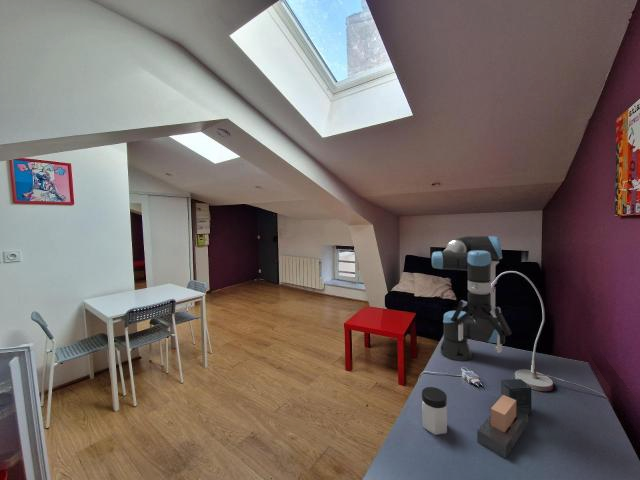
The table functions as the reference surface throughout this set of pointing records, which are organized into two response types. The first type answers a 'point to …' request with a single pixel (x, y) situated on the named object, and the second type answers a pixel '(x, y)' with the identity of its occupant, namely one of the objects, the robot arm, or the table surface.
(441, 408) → the jar
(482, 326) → the robot arm
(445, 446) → the table surface
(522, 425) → the grey slotted block
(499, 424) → the orange tan block
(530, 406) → the box
